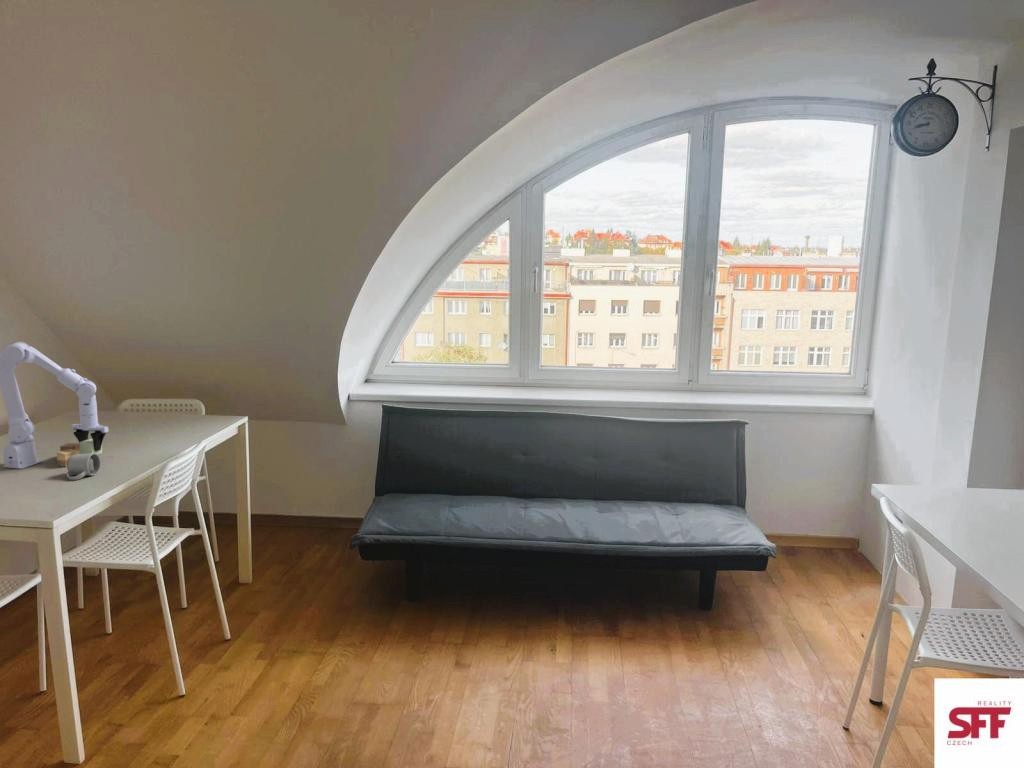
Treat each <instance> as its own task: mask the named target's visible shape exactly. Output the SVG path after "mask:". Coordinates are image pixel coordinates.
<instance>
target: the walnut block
mask: <svg viewBox="0 0 1024 768" xmlns="http://www.w3.org/2000/svg"><path fill="white" fill-rule="evenodd" d="M67 449H73V450H77V451H79V454H81V452H80V443H79V442H67V443H65V444H62V445H60V446H59V451H63V450H67Z"/></svg>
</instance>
